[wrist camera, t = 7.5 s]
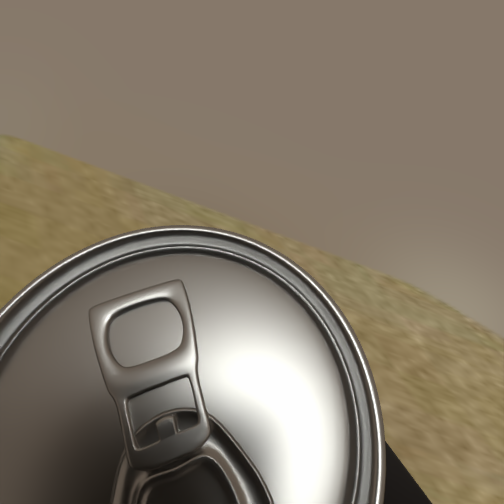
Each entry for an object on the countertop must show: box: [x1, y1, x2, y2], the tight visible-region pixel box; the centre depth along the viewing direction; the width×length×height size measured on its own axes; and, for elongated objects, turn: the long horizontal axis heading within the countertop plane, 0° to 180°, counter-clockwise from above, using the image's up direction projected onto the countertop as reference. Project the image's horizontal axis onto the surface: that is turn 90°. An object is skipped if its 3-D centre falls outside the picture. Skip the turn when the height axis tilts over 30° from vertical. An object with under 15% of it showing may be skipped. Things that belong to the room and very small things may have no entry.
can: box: [0, 225, 386, 504], centre depth 9 cm, size 6×6×12 cm
